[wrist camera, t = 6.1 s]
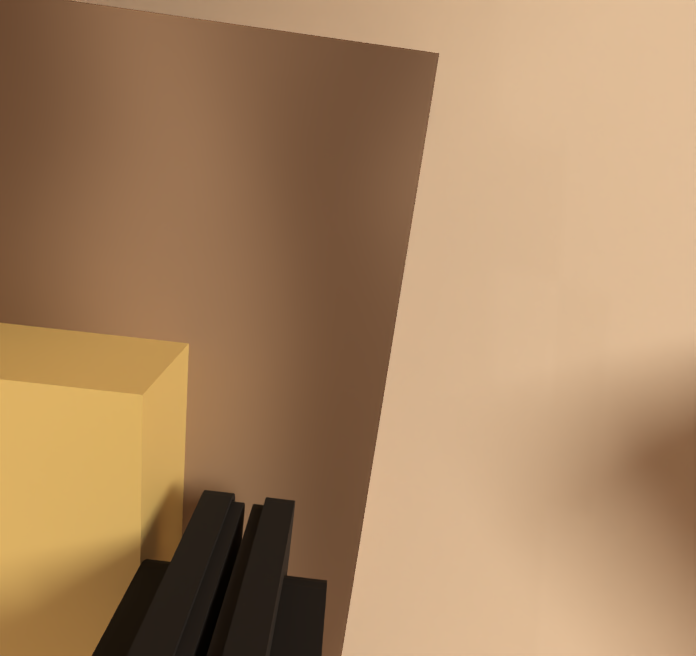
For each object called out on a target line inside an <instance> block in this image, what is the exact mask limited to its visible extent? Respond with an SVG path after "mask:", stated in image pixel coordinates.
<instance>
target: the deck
mask: <svg viewBox="0 0 696 656" xmlns="http://www.w3.org/2000/svg"><path fill="white" fill-rule="evenodd" d="M438 57H439V53H433V52H426V51H419V50H412V49H405V48H398V47H391V46H383V45H376V44H369V43H362V42H355V41H348V40H341V39H334V38H327V37H320V36H313V35H306V34H299V33H292V32H285V31H278V30H271V29H264V28H257V27H250V26H243V25H236V24H229V23H222V22H215V21H208V20H201V19H194V18H187V17H180V16H173V15H166V14H159V13H152V12H145V11H138V10H131V9H124V8H117V7H110V6H103V5H96V4H89V3H82V2H75V1H68V0H0V323H7V324H16V325H25V326H34V327H43V328H53V329H62V330H71V331H80V332H89V333H98V334H107V335H116V336H126V337H135V338H144V339H153V340H162V341H171V342H180V343H189V354H188V382H187V409H186V437H185V464H184V492H183V519H182V536H183V534H184V532H185V530H186V527H187V525H188V523H189V521H190V519H191V517H192V514H193V512H194V510H195V508H196V506H197V504H198V501H199V499H200V497H201V495H202V493H203V491H204V490H211V491H219V492H228V493H234V494H235V502H243V503H245V513H244V524H243V535H244V532H245V528H246V525H247V522H248V519H249V515H250V512H251V509H252V506H253V504H260V505H264V502H265V499H266V497H270V498H278V499H286V500H294V501H295V510H294V519H293V527H292V536H291V545H290V554H289V563H288V572H287V576H295V577H304V578H312V579H320V580H327V592H326V605H325V618H324V631H323V644H322V656H341V654H342V648H343V642H344V636H345V630H346V624H347V618H348V611H349V605H350V599H351V593H352V587H353V581H354V574H355V568H356V562H357V556H358V550H359V544H360V537H361V531H362V525H363V519H364V513H365V507H366V500H367V494H368V488H369V482H370V476H371V470H372V464H373V457H374V451H375V445H376V439H377V433H378V427H379V420H380V414H381V408H382V402H383V396H384V390H385V383H386V377H387V371H388V365H389V359H390V353H391V346H392V340H393V334H394V328H395V322H396V316H397V310H398V303H399V297H400V291H401V285H402V279H403V273H404V266H405V260H406V254H407V248H408V242H409V236H410V229H411V223H412V217H413V211H414V205H415V199H416V193H417V186H418V180H419V174H420V168H421V162H422V156H423V149H424V143H425V137H426V131H427V125H428V119H429V112H430V106H431V100H432V94H433V88H434V82H435V75H436V69H437V63H438ZM242 538H243V536H242Z"/></svg>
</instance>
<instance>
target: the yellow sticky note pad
mask: <svg viewBox="0 0 696 656" xmlns="http://www.w3.org/2000/svg"><path fill="white" fill-rule="evenodd" d="M188 354H189V343H180V342H171V341H162V340H153V339H144V338H135V337H126V336H116V335H107V334H98V333H89V332H80V331H71V330H62V329H53V328H43V327H34V326H25V325H16V324H7V323H0V656H92V654H93V652H94V650H95V649H96V647H97V645H98V643H99V641H100V639H101V637H102V635H103V634H104V632H105V630H106V628H107V626H108V624H109V622H110V620H111V619H112V617H113V615H114V613H115V611H116V609H117V607H118V605H119V604H120V602H121V600H122V598H123V596H124V594H125V592H126V590H127V589H128V587H129V585H130V583H131V581H132V579H133V577H134V575H135V574H136V572H137V570H138V568H139V566H140V565H141V563H142V562H143V561H144V560H145V559H151V560H160V561H168V562H171V560H172V558H173V555H174V553H175V551H176V549H177V547H178V545H179V542H180V540H181V538H182V519H183V492H184V464H185V437H186V409H187V382H188Z"/></svg>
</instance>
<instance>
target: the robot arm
mask: <svg viewBox="0 0 696 656" xmlns="http://www.w3.org/2000/svg"><path fill="white" fill-rule="evenodd" d="M294 510H295V501H294V500H286V499H278V498H270V497H266V499H265V502H264V505H260V504H253V506H252V509H251V512H250V515H249V519H248V522H247V525H246V528H245V532H244V535H243V524H244V513H245V503H243V502H235V494H234V493H228V492H219V491H211V490H204V491H203V493H202V495H201V497H200V499H199V501H198V504H197V506H196V508H195V510H194V512H193V514H192V517H191V519H190V521H189V523H188V525H187V527H186V530H185V532H184V534H183V536H182V538H181V540H180V542H179V545H178V547H177V549H176V551H175V553H174V555H173V558H172V560H171V562H168V561H160V560H151V559H145V560H144V561H143V562H142V563H141V565H140V566H139V568H138V570H137V572H136V574H135V575H134V577H133V579H132V581H131V583H130V585H129V587H128V589H127V590H126V592H125V594H124V596H123V598H122V600H121V602H120V604H119V605H118V607H117V609H116V611H115V613H114V615H113V617H112V619H111V620H110V622H109V624H108V626H107V628H106V630H105V632H104V634H103V635H102V637H101V639H100V641H99V643H98V645H97V647H96V649H95V650H94V652H93V654H92V656H322V644H323V631H324V618H325V605H326V592H327V580H320V579H312V578H304V577H295V576H287V572H288V563H289V554H290V545H291V536H292V527H293V519H294ZM242 536H243V538H242Z"/></svg>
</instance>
